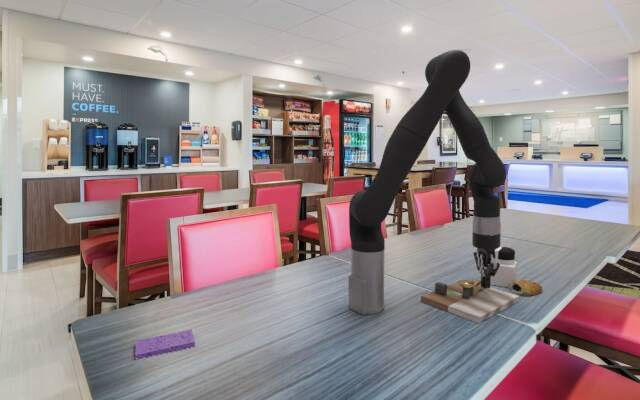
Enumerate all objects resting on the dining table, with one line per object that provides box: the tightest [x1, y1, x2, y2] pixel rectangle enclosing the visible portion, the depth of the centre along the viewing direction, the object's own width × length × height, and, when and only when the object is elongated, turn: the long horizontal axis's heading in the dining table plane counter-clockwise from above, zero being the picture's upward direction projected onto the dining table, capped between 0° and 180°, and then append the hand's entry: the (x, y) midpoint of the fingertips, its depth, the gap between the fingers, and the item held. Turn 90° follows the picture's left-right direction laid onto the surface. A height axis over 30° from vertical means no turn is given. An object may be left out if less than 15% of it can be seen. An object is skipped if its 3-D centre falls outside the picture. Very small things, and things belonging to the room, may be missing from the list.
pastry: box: [509, 279, 543, 297], centre depth 115 cm, size 9×7×4 cm
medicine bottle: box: [490, 246, 518, 288], centre depth 122 cm, size 7×7×12 cm
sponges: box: [134, 328, 196, 359], centre depth 86 cm, size 7×13×2 cm, turn 114°
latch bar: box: [459, 277, 481, 296], centre depth 110 cm, size 11×4×4 cm, turn 140°
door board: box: [420, 280, 520, 324], centre depth 108 cm, size 22×18×5 cm
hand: (485, 287), depth 111 cm, fingers closed
